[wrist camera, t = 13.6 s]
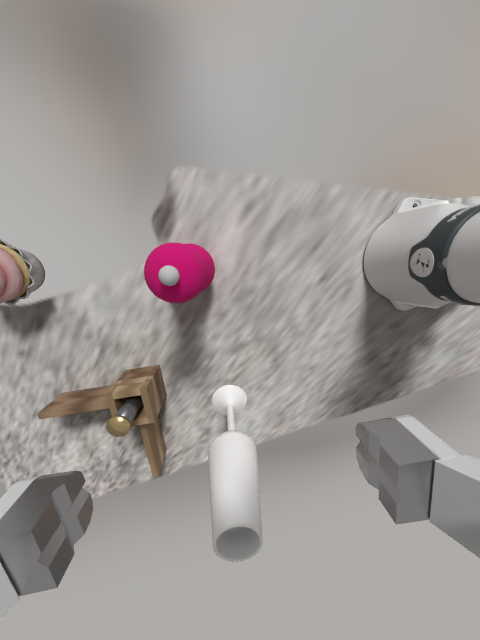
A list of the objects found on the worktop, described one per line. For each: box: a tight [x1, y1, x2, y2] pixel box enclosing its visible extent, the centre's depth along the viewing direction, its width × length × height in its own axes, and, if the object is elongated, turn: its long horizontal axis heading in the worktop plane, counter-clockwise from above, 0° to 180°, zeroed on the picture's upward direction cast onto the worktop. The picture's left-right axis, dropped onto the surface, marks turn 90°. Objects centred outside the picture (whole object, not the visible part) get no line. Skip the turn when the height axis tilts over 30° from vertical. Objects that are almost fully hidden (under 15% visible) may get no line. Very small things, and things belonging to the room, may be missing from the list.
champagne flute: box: [208, 385, 262, 561], centre depth 35 cm, size 7×7×24 cm
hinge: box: [38, 365, 166, 477], centre depth 41 cm, size 18×18×8 cm
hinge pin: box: [106, 395, 143, 437], centre depth 36 cm, size 3×3×8 cm
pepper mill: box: [144, 243, 215, 303], centre depth 30 cm, size 7×7×20 cm
